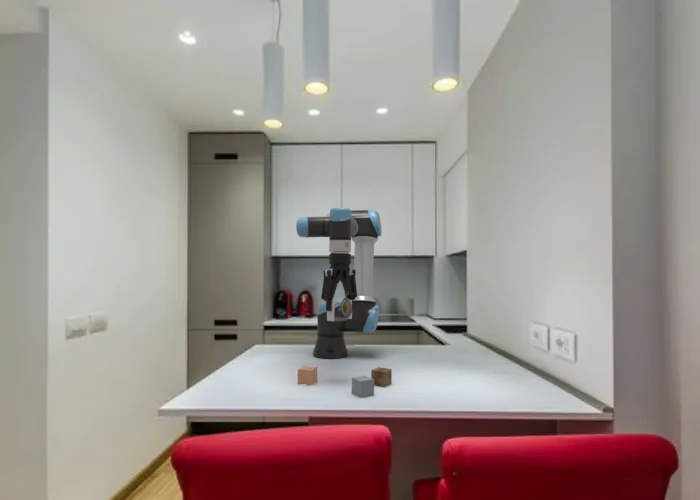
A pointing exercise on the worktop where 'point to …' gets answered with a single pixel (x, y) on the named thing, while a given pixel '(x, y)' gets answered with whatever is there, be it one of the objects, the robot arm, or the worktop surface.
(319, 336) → the robot arm
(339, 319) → the pocket watch
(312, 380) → the terracotta cube
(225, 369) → the worktop surface
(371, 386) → the slate cube
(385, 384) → the walnut cube
